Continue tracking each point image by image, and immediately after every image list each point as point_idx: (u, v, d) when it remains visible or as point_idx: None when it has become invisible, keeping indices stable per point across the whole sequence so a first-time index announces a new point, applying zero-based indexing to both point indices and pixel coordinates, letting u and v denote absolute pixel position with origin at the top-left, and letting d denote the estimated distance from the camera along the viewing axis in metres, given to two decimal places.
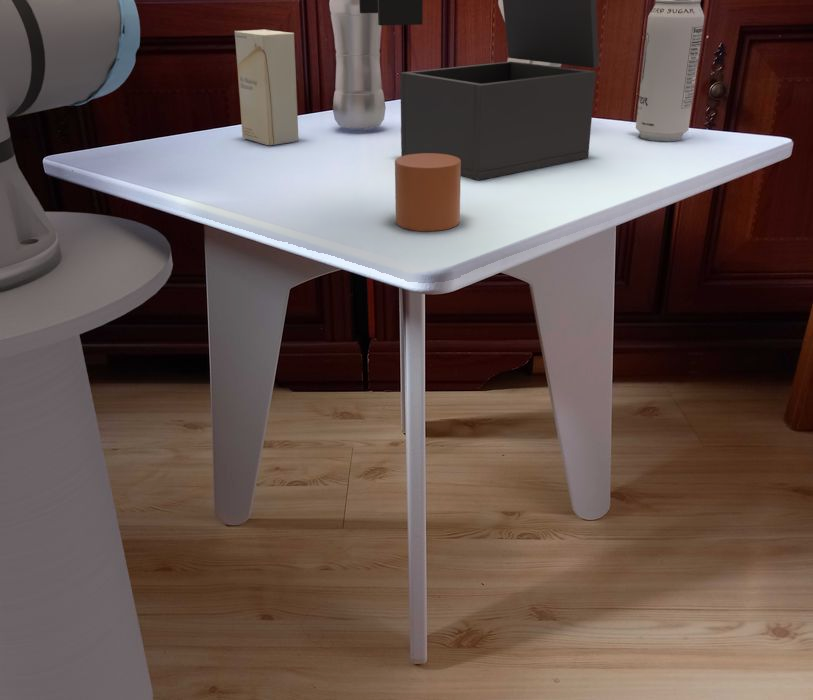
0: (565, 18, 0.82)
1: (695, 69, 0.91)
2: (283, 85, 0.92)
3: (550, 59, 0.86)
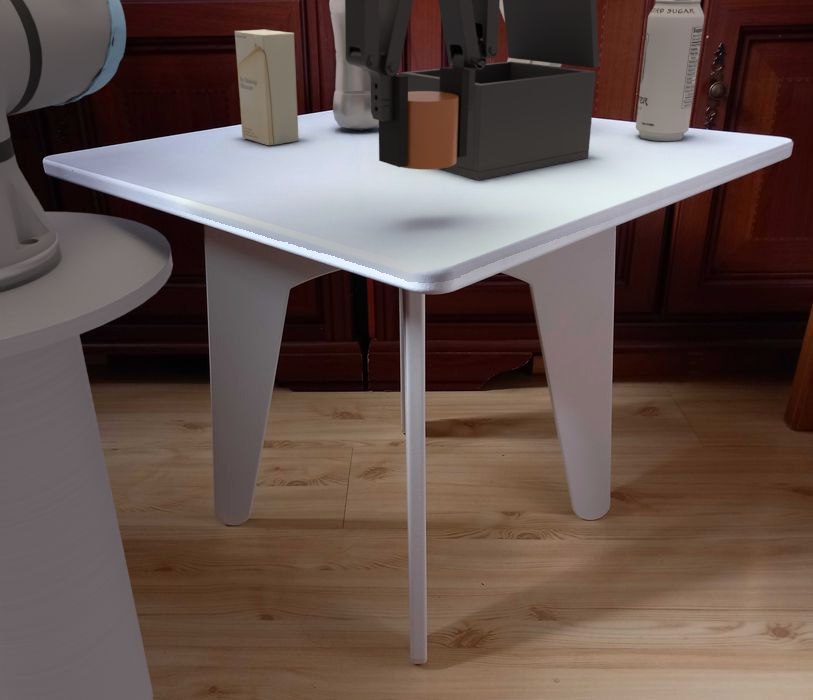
0: (565, 18, 0.82)
1: (695, 69, 0.91)
2: (283, 85, 0.92)
3: (550, 59, 0.86)
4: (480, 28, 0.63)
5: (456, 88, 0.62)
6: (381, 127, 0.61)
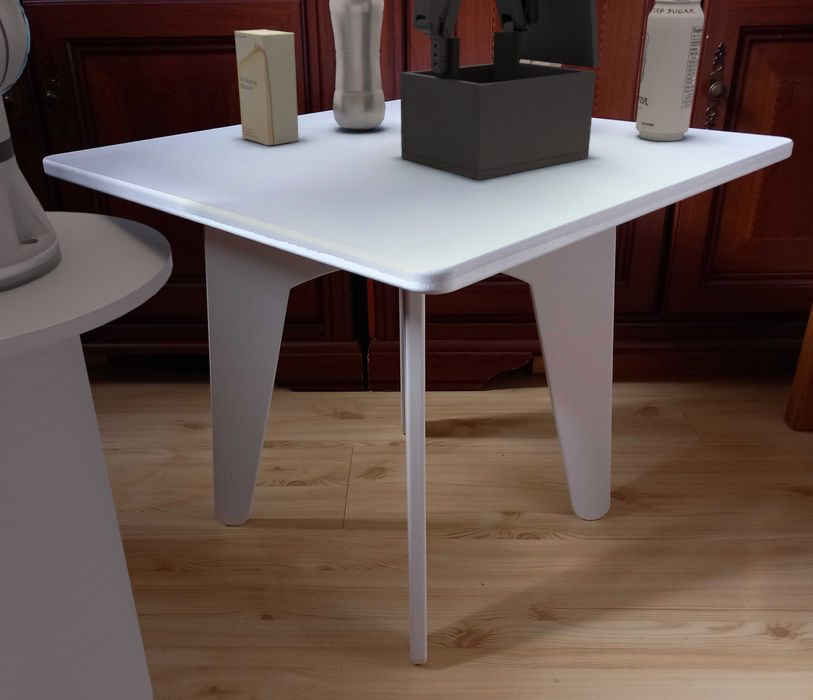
0: (565, 18, 0.82)
1: (695, 69, 0.91)
2: (283, 85, 0.92)
3: (550, 59, 0.86)
4: (523, 1, 0.82)
5: (507, 47, 0.81)
6: None
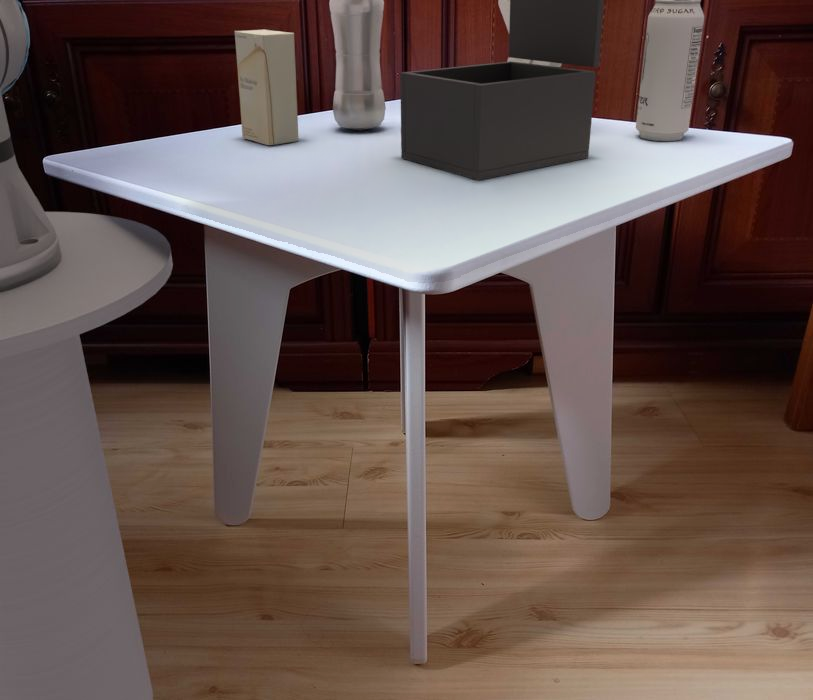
0: (571, 16, 0.82)
1: (695, 69, 0.91)
2: (283, 85, 0.92)
3: (550, 58, 0.86)
4: None
5: None
6: None
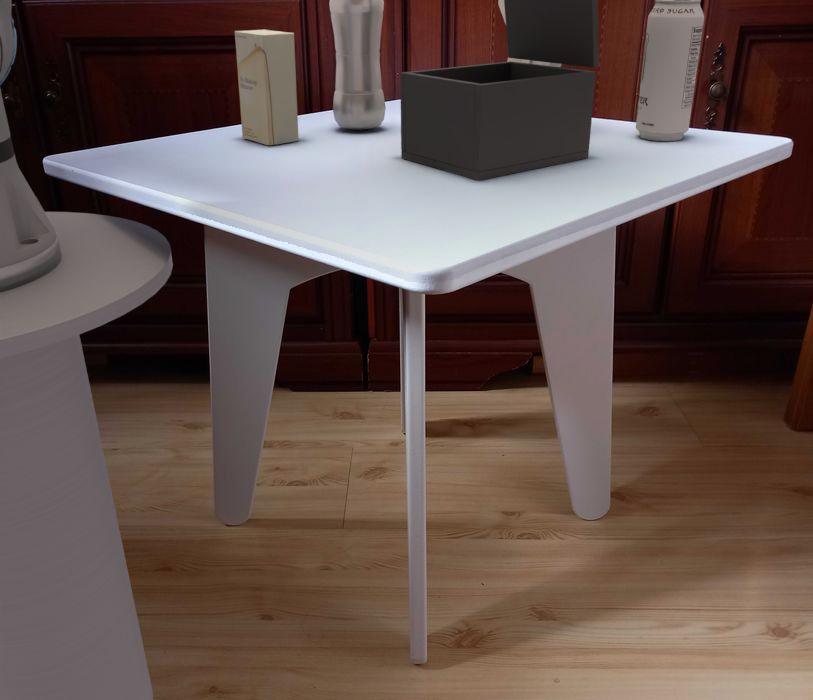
0: (566, 18, 0.82)
1: (695, 69, 0.91)
2: (283, 85, 0.92)
3: (550, 59, 0.86)
4: None
5: None
6: None
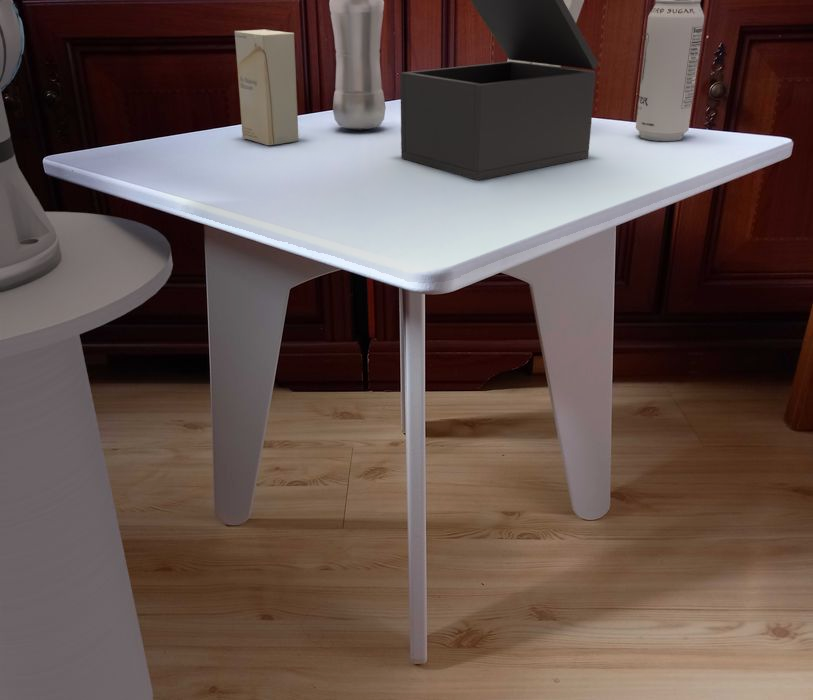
0: (549, 34, 0.81)
1: (695, 69, 0.91)
2: (283, 85, 0.92)
3: (549, 62, 0.86)
4: None
5: None
6: None
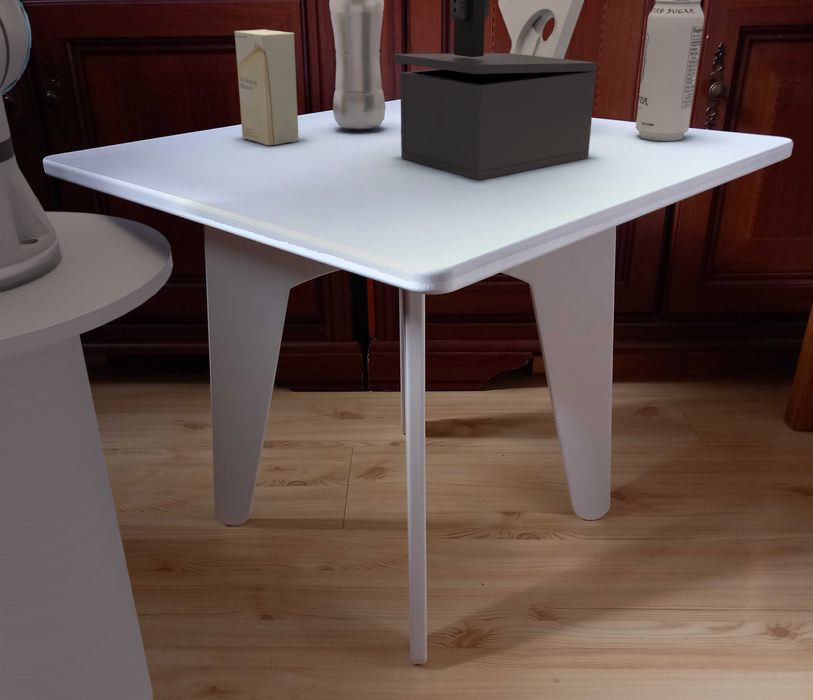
0: None
1: (695, 69, 0.91)
2: (283, 85, 0.92)
3: None
4: None
5: None
6: (457, 26, 0.79)
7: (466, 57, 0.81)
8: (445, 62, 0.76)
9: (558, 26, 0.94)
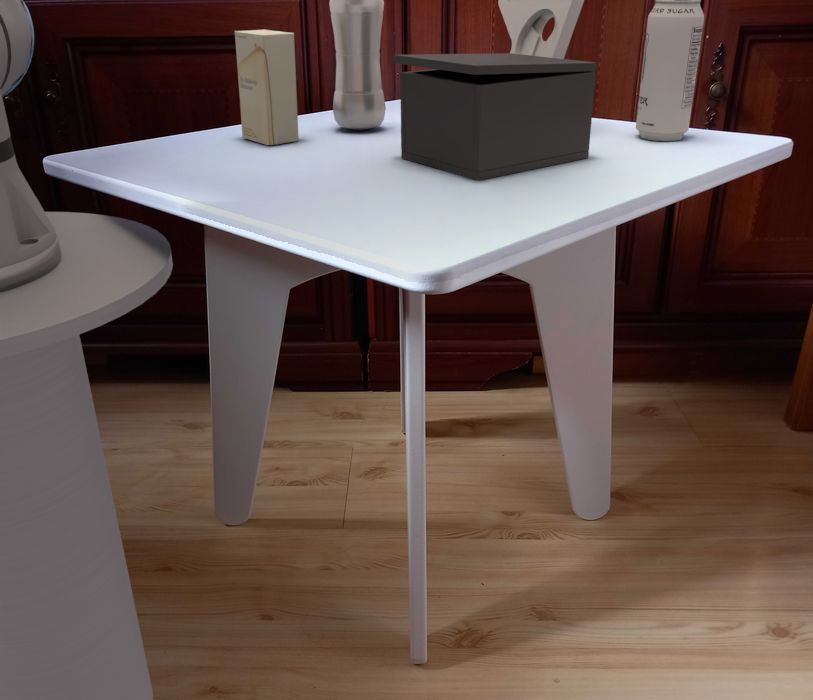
0: None
1: (695, 69, 0.91)
2: (283, 85, 0.92)
3: None
4: None
5: None
6: None
7: None
8: (445, 63, 0.76)
9: (558, 26, 0.94)
